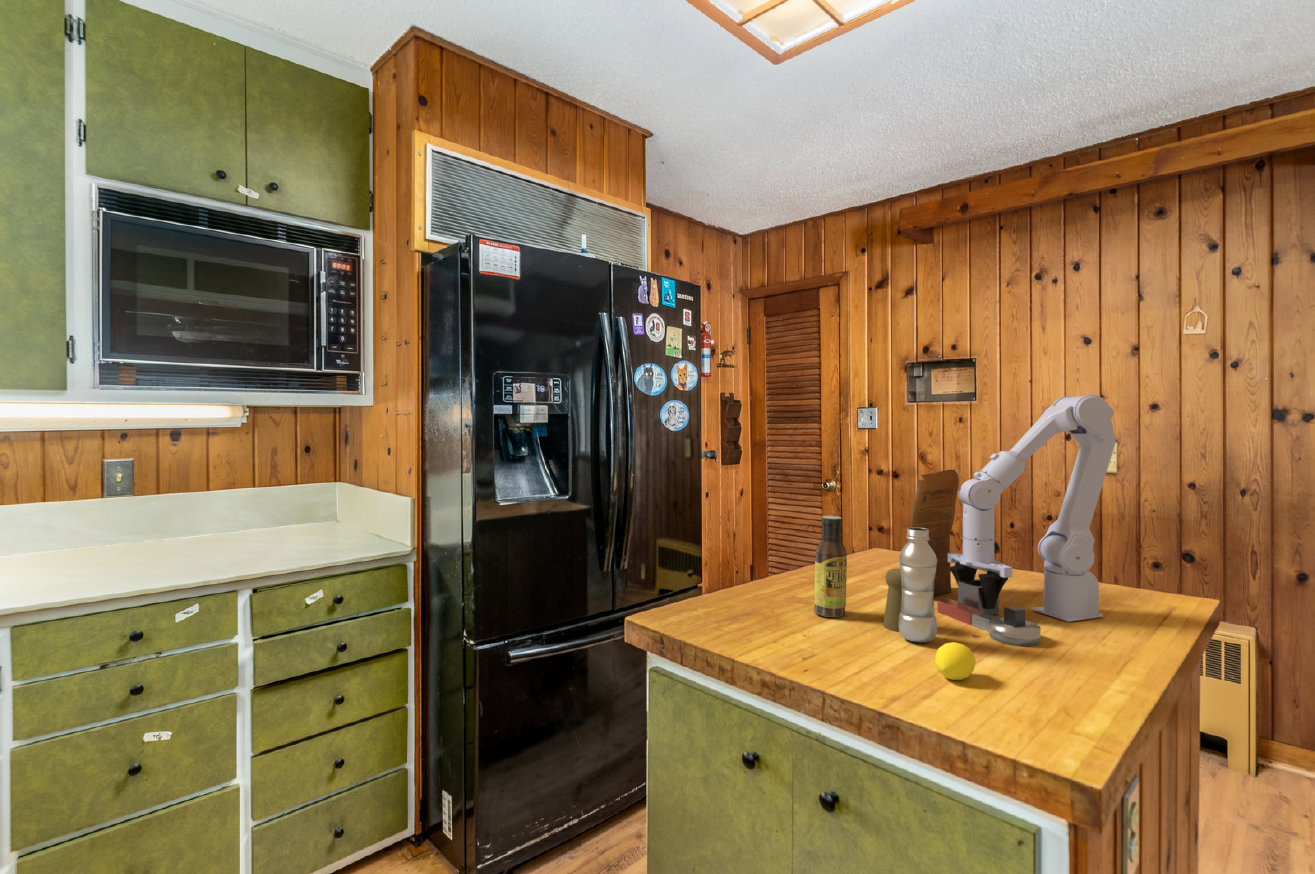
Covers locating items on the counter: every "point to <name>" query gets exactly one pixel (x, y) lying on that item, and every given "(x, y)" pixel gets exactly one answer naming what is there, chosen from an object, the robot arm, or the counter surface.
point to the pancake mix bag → (937, 519)
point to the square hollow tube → (974, 596)
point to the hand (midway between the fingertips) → (978, 604)
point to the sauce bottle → (830, 570)
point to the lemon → (955, 661)
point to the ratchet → (996, 622)
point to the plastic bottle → (917, 587)
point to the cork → (893, 600)
